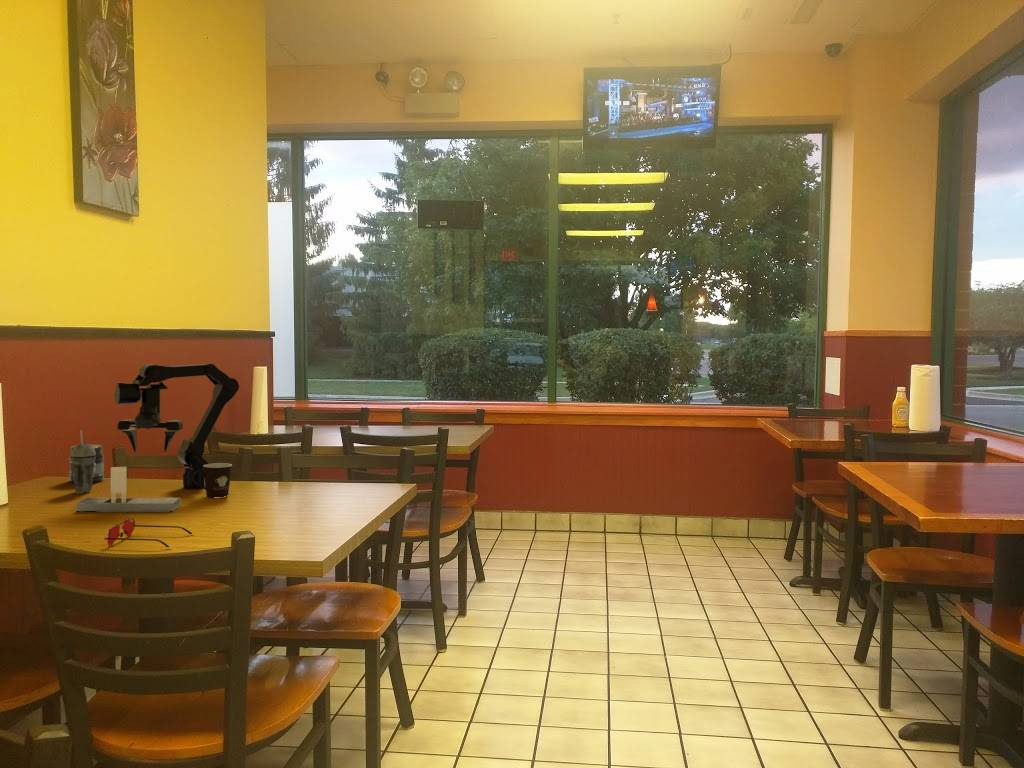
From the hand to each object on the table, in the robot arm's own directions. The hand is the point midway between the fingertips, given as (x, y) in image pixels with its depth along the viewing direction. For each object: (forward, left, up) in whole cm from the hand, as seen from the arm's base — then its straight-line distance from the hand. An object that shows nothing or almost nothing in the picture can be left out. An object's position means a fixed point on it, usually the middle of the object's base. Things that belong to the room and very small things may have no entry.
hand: (150, 451), depth 256 cm
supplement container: (+26, -18, -13) cm, 34 cm away
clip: (+1, +26, -13) cm, 29 cm away
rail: (-2, +26, -13) cm, 29 cm away
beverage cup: (+20, +1, -13) cm, 24 cm away
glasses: (-19, +63, -14) cm, 67 cm away
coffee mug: (-21, +8, -13) cm, 26 cm away
